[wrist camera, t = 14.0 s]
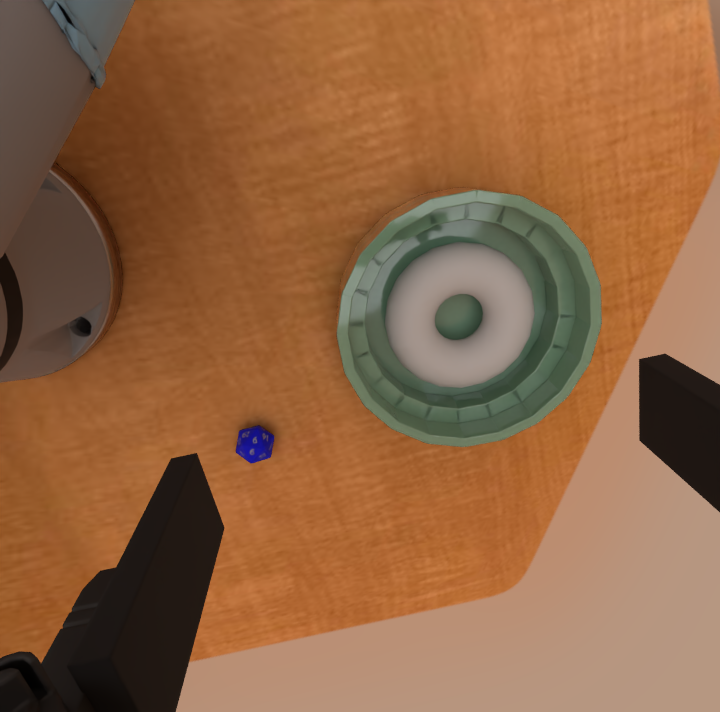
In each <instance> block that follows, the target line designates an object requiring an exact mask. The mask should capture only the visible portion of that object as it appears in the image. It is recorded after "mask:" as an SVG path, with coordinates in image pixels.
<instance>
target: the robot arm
mask: <svg viewBox="0 0 720 712" xmlns="http://www.w3.org/2000/svg"><path fill="white" fill-rule="evenodd" d="M134 2H135V0H0V382H8V381H15V380H22V379H30V378H36V377H40V376H45V375H48V374H50V373H53V372H56V371H58V370H60V369H62V368H64V367H66V366H68V365H69V364H71V363H73V362H74V361H75V360H77V359H78V358H79V357H81V356H82V355H83V354H85V353H86V352H87V351H89V350H90V349H91V348H93V347H94V346H95V345H96V344H97V343H98V342H99V341H100V340H101V338H102V337H103V336H104V335H105V333H106V332H107V330H108V329H109V327H110V326H111V324H112V322H113V320H114V318H115V316H116V313H117V310H118V307H119V303H120V299H121V292H122V265H121V259H120V254H119V250H118V246H117V243H116V240H115V237H114V235H113V232H112V230H111V228H110V226H109V224H108V222H107V220H106V218H105V216H104V215H103V213H102V211H101V210H100V208H99V207H98V205H97V204H96V202H95V201H94V200H93V198H92V197H91V196H90V195H89V194H88V192H87V191H86V190H85V189H84V188H83V187H82V186H81V185H80V184H79V183H78V182H77V181H76V180H75V179H74V178H73V177H72V176H71V175H69V174H68V173H67V172H66V171H65V170H63V169H62V168H61V167H59V166H58V165H56V164H55V163H54V161H55V159H56V158H57V156H58V154H59V152H60V150H61V148H62V147H63V145H64V143H65V141H66V139H67V137H68V136H69V134H70V132H71V130H72V128H73V126H74V125H75V123H76V121H77V119H78V117H79V116H80V114H81V112H82V110H83V108H84V106H85V105H86V103H87V101H88V99H89V97H90V95H91V94H92V92H93V90H94V88H95V87H97V88H99V89H100V88H101V87H102V85H103V83H104V82H105V78H106V72H105V69H104V66H105V64H106V62H107V59H108V57H109V55H110V53H111V51H112V49H113V47H114V44H115V42H116V40H117V38H118V36H119V34H120V32H121V29H122V27H123V25H124V23H125V21H126V19H127V17H128V14H129V12H130V10H131V8H132V6H133V4H134ZM639 409H640V412H639V414H640V415H639V419H640V420H639V422H640V424H639V425H640V426H639V427H640V441H641V442H642V443H643V444H644V445H645V446H646V447H647V448H649V449H650V450H651V451H652V452H653V453H654V454H655V455H656V456H657V457H659V458H660V459H661V460H662V461H663V462H664V463H665V464H666V465H668V466H669V467H670V468H671V469H672V470H673V471H674V472H675V473H676V474H678V475H679V476H680V477H681V478H682V479H683V480H684V481H685V482H687V483H688V484H689V485H690V486H691V487H692V488H693V489H694V490H695V491H697V492H698V493H699V494H700V495H701V496H702V497H703V498H705V499H706V500H707V501H708V502H709V503H710V504H711V505H712V506H713V507H715V508H716V509H717V510H718V511H719V512H720V385H719V384H717V383H715V382H714V381H712V380H710V379H708V378H707V377H705V376H703V375H701V374H700V373H698V372H696V371H695V370H693V369H691V368H689V367H688V366H686V365H684V364H682V363H680V362H679V361H677V360H675V359H674V358H672V357H670V356H668V355H667V354H662V355H657V356H652V357H648V358H643V359H639ZM223 531H224V525H223V523H222V520H221V517H220V515H219V512H218V509H217V506H216V504H215V501H214V498H213V496H212V493H211V490H210V487H209V485H208V482H207V479H206V477H205V474H204V471H203V469H202V466H201V463H200V460H199V458H198V455H197V453H195V454H190V455H186V456H181V457H176V458H172V459H171V460H170V462H169V464H168V466H167V468H166V470H165V472H164V474H163V476H162V478H161V480H160V482H159V484H158V486H157V488H156V490H155V492H154V494H153V496H152V498H151V500H150V502H149V504H148V506H147V508H146V510H145V512H144V514H143V516H142V518H141V520H140V522H139V523H138V525H137V527H136V529H135V531H134V533H133V535H132V537H131V539H130V541H129V543H128V545H127V547H126V549H125V551H124V553H123V555H122V557H121V559H120V561H119V563H118V565H117V567H116V568H112V569H107V570H102V571H100V572H99V573H98V574H97V575H96V576H95V577H94V578H93V579H92V580H91V581H90V582H89V583H88V584H87V585H86V586H85V587H84V588H83V590H82V591H81V593H80V595H79V597H78V599H77V600H76V602H75V604H74V606H73V608H72V612H71V613H69V615H68V617H67V618H66V620H65V622H64V624H63V629H60V631H59V633H58V634H57V636H56V638H55V640H54V642H53V643H52V645H51V647H50V649H49V651H48V652H47V654H46V656H45V658H44V660H43V661H42V663H40V662H39V660H38V658H37V657H36V656H35V655H33V654H32V653H31V652H16V653H13V654H10V655H6V656H4V657H2V658H0V712H176V708H177V704H178V701H179V697H180V693H181V689H182V686H183V682H184V678H185V674H186V671H187V667H188V663H189V659H190V656H191V652H192V648H193V644H194V641H195V637H196V633H197V629H198V626H199V622H200V618H201V614H202V610H203V607H204V603H205V599H206V595H207V592H208V588H209V584H210V580H211V577H212V573H213V569H214V565H215V562H216V558H217V554H218V550H219V547H220V543H221V539H222V535H223Z"/></svg>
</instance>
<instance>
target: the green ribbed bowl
mask: <svg viewBox="0 0 720 712" xmlns="http://www.w3.org/2000/svg"><path fill="white" fill-rule="evenodd" d="M455 242H465V243H478V244H484V245H486V246H489V247H491V248H493V249H495V250H498V251H500V252H502V253H504V254H505V255H506V256H507V257H508V258H509V259H511V260H512V261H513V262H514V263H515V264H516V265H517V266H518V267H519V268H520V269H521V270H522V272H523V274H524V276H525V278H526V280H527V282H528V284H529V286H530V288H531V290H532V295H533V303H534V312H535V315H534V320H533V324H532V329H531V334H530V337H529V339H528V341H527V342H526V344H525V346H524V348H523V350H522V352H521V353H520V355H519V357H518V358H517V359H516V360H515V361H514V362H513V363H512V364H511V365H510V366H509V367H508V368H507V369H506V370H505V371H504V372H502V373H500V374H498V375H497V376H495V377H493V378H491V379H489V380H488V381H486V382H484V383H480V384H476V385H472V386H467V387H463V388H455V387H439V386H437V385H434V384H431V383H429V382H426V381H423V380H421V379H419V378H418V377H416V376H415V375H414V374H413V373H411V372H410V371H409V370H408V369H406V368H405V367H404V366H403V365H402V364H401V363H400V361H399V360H398V358H397V356H396V355H395V353H394V352H393V350H392V348H391V347H390V345H389V340H388V336H387V332H386V327H385V316H386V307H387V300H388V297H389V295H390V293H391V291H392V288H393V286H394V284H395V282H396V279H397V278H398V277H399V275H400V274H401V273H402V272H403V271H404V270H405V269H406V267H407V266H408V265H409V264H410V263H411V262H412V261H413V260H414V259H416V258H417V257H419V256H421V255H422V254H424V253H426V252H427V251H429V250H431V249H432V248H435V247H439V246H443V245H447V244H451V243H455ZM482 316H483V310H482V306H481V304H480V302H479V301H478V300H477V299H476V298H475V297H473V296H471V295H468V294H458V295H454V296H451V297H450V298H448V299H446V300H445V301H444V302H443V303H442V304H441V305H440V306H439V308H438V310H437V312H436V315H435V326H436V328H437V330H438V332H439V333H440V334H441V335H442V336H443V337H445V338H448V339H452V340H459V339H464V338H466V337H468V336H470V335H472V334H473V333H474V332H475V331H476V330H477V329H478V327H479V325H480V323H481V321H482ZM601 324H602V319H601V285H600V282H599V279H598V276H597V274H596V271H595V269H594V266H593V263H592V261H591V258H590V255H589V253H588V250H587V248H586V247H585V245H584V244H583V243H582V241H581V240H580V239H579V238H578V237H577V236H576V235H575V234H574V232H573V231H572V230H571V229H570V228H569V227H568V226H567V224H566V223H565V222H564V221H563V220H562V219H561V218H560V217H559V216H558V215H557V214H555V213H553V212H551V211H549V210H547V209H545V208H544V207H542V206H540V205H538V204H536V203H534V202H532V201H530V200H528V199H527V198H525V197H523V196H520V195H514V194H507V193H501V192H494V191H486V190H479V189H472V188H465V187H457V188H452V189H446V190H441V191H436V192H431V193H426V194H422V195H419V196H417V197H415V198H413V199H411V200H410V201H408V202H406V203H404V204H403V205H401V206H399V207H397V208H395V209H394V210H392V211H390V212H388V213H386V214H385V215H384V216H383V217H382V218H381V219H380V220H379V221H378V222H377V223H376V224H375V225H374V227H373V228H372V229H371V230H370V231H369V232H368V233H367V234H366V235H365V236H364V237H363V238H362V239H361V241H360V242H359V243H358V244H357V246H356V248H355V250H354V252H353V254H352V256H351V258H350V261H349V263H348V265H347V267H346V269H345V271H344V273H343V275H342V278H341V281H340V290H339V298H338V306H337V315H336V334H337V340H338V345H339V350H340V354H341V359H342V364H343V369H344V372H345V375H346V376H347V378H348V380H349V381H350V383H351V385H352V386H353V388H354V390H355V391H356V393H357V395H358V396H359V398H360V400H361V401H362V403H363V405H364V406H365V407H366V408H367V409H369V410H370V411H371V412H372V413H373V414H375V415H376V416H377V417H378V418H379V419H380V420H382V421H383V422H384V423H385V424H386V425H388V426H389V427H390V428H391V429H393V430H395V431H398V432H400V433H403V434H405V435H407V436H410V437H412V438H415V439H417V440H420V441H422V442H424V443H427V444H436V445H447V446H457V447H464V446H465V447H468V446H473V445H479V444H484V443H490V442H495V441H500V440H504V439H506V438H508V437H510V436H512V435H514V434H516V433H518V432H521V431H523V430H525V429H527V428H529V427H531V426H533V425H535V424H537V422H540V421H541V420H542V419H543V418H544V417H545V416H546V415H548V414H549V413H550V412H551V411H552V410H553V409H555V408H556V407H557V406H558V405H559V404H560V403H561V402H563V401H564V400H565V399H566V398H567V396H569V394H570V393H571V391H572V390H573V388H574V387H575V385H576V384H577V382H578V381H579V379H580V378H581V376H582V375H583V373H584V372H585V370H586V369H587V367H588V365H589V363H590V362H591V358H592V355H593V352H594V348H595V345H596V342H597V338H598V335H599V332H600V328H601Z"/></svg>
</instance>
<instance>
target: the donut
mask: <svg viewBox="0 0 720 712" xmlns="http://www.w3.org/2000/svg"><path fill="white" fill-rule="evenodd" d="M458 294H468V295H471V296H473V297H475V298H476V299H477V300H478V301H479V302H480V304H481V306H482V310H483V316H482V321H481V323H480V325H479V327H478V329H477V330H476V331H475V332H474V333H473V334H472V335H470V336H468V337H466V338H464V339H459V340H452V339H448V338H445V337H443V336H442V335H441V334H440V333H439V332H438V330H437V328H436V326H435V315H436V312H437V310H438V308H439V306H440V305H441V304H442V303H443V302H444V301H445V300H446V299H448V298H450V297H451V296H454V295H458ZM534 315H535V312H534V303H533V295H532V290H531V288H530V286H529V284H528V282H527V280H526V278H525V276H524V274H523V272H522V270H521V269H520V268H519V267H518V266H517V265H516V264H515V263H514V262H513V261H512V260H511V259H509V258H508V257H507V256H506V255H505V254H504V253H502V252H500V251H498V250H495V249H493V248H491V247H489V246H486V245H484V244H478V243H465V242H455V243H451V244H447V245H443V246H439V247H435V248H432V249H431V250H429V251H427V252H426V253H424V254H422V255H421V256H419V257H417V258H416V259H414V260H413V261H412V262H411V263H410V264H409V265H408V266H407V267H406V269H405V270H404V271H403V272H402V273H401V274H400V275H399V277H398V278H397V279H396V282H395V284H394V286H393V288H392V291H391V293H390V295H389V297H388V300H387V307H386V316H385V327H386V332H387V336H388V340H389V345H390V347H391V348H392V350H393V352H394V353H395V355H396V356H397V358H398V360H399V361H400V363H401V364H402V365H403V366H404V367H405V368H406V369H408V370H409V371H410V372H411V373H413V374H414V375H415V376H416V377H418V378H419V379H421V380H423V381H426V382H429V383H431V384H434V385H437V386H439V387H455V388H463V387H467V386H472V385H476V384H480V383H484V382H486V381H488V380H489V379H491V378H493V377H495V376H497V375H498V374H500V373H502V372H504V371H505V370H506V369H507V368H508V367H509V366H510V365H511V364H512V363H513V362H514V361H515V360H516V359H517V358H518V357H519V355H520V353H521V352H522V350H523V348H524V346H525V344H526V342H527V341H528V339H529V337H530V334H531V329H532V324H533V320H534Z"/></svg>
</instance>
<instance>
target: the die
mask: <svg viewBox="0 0 720 712" xmlns="http://www.w3.org/2000/svg"><path fill="white" fill-rule="evenodd" d="M273 442H274V435H273V434H271V433H270V432H268V431H267V430H265V429H264V428H262V427H261V426H259V425H258V426H254V427H251V428H247V429H243V430H240V431H239V436H238V441H237V447H236V453H237V454H239V455H240V456H241V457H243V458H244V459H246V460H247V461H248V462H250V463H255V462H258V461H261V460H264V459H268V458H270V457H271V454H272V448H273Z"/></svg>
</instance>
